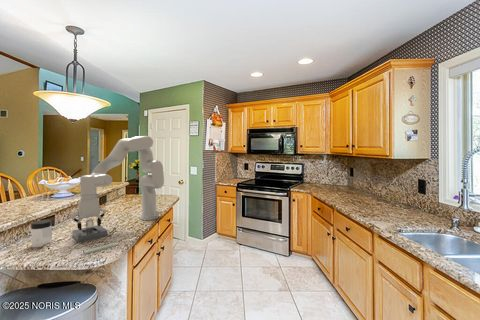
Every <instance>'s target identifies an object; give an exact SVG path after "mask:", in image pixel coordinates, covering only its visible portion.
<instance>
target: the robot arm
mask: <svg viewBox="0 0 480 320" xmlns="http://www.w3.org/2000/svg"><path fill="white" fill-rule="evenodd" d="M153 144H154V140H153V138H152V137H151V136H149V135H138V136H137V135H135V136H133V137H131V138H129V137H126V138H121V139H119V140H118V141H117V143H116V144H115V145H114V147H113V149H112V150H111V152H110V153H109V154H108V156H107V157H106V158H103V160H102V161H101V162H99V163H98V164H97V165H96V166H95V167H94V169H93V170H92V171H91V173H90V174H86V175H81V176H80V180H79V182H80V183H79V184H80V185H79V186H80V199H79V200H78V203H77V211H76V212H74V213H73V214H72V215H70V218H71V219H72V220H73V221H74V222H75V223H77V224H76V225H77V230H78V229H79V230H82V229H83V228H82V221H83V219H88V218H89V219H91V218H94V217H96V218H97V219H96V220H97V221H96V222H97V223H96V224H97V225H98V226H100V225H102V219H103V217H104V216H105V214H106V213H107V210H105V209H103V208H101V207H100V200H99V198H98V197H100V196H101V195H100V193H97V192H98V191H97V188H99V187H101V188H103V187H109V186H110V185H112V184H113V177H112V176H111V174H108V171H110V170H112V169H114V168H115V167H118V166H120V165H121V164H122V163H123V162H124V160H125V158H126V157H127V156H128V154H129V152H130V153H131V152H138V154H139V160H140V168H141V171H142V173H145V175H142V176H141V177H140V181H139V184H140V188H141V189H140V190H141V209H142V210H141V211H142V214H141V216H140V217H139V219H140V221H141V220H142V221H153V220H156V219H158V218H159V215H161V214H163V213H164V212H163V210H157V192H156V189H157V190H159V189H162V187H163V186H164V184H165V177H164V175H165V174H164V166H163V163H162V162H161V161H160V160H158V159H154V155H153V151H152V149H151V147H153ZM101 212H102V213H101ZM76 216H77V217H78V218H76ZM97 225H96V226H97Z"/></svg>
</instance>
